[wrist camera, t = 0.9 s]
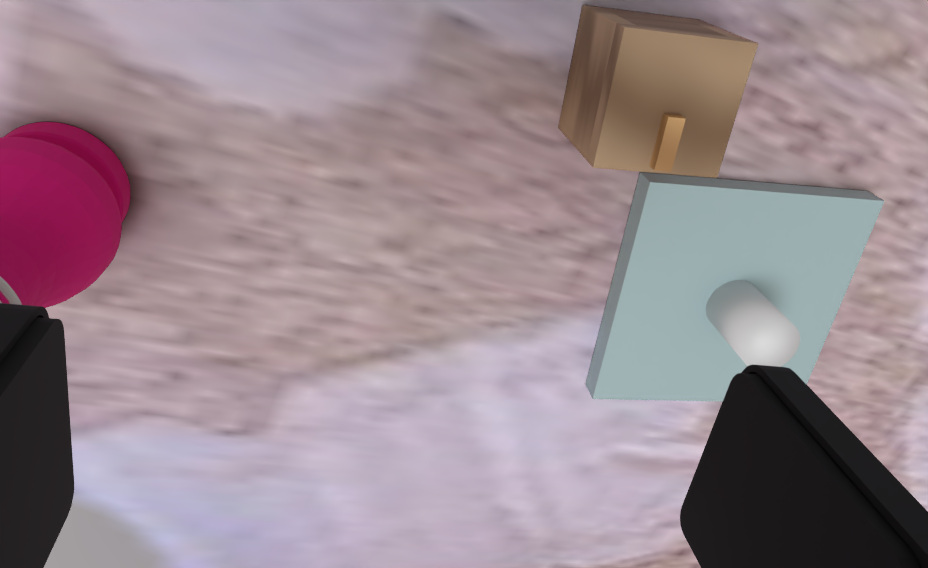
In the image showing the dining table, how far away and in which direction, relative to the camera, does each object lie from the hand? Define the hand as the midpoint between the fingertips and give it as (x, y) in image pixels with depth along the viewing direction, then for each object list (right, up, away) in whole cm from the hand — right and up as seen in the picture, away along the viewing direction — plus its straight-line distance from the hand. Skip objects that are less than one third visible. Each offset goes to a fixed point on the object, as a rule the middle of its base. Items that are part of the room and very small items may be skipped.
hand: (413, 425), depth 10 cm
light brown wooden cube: (+9, +13, +27) cm, 31 cm away
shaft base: (+16, +2, +34) cm, 38 cm away
